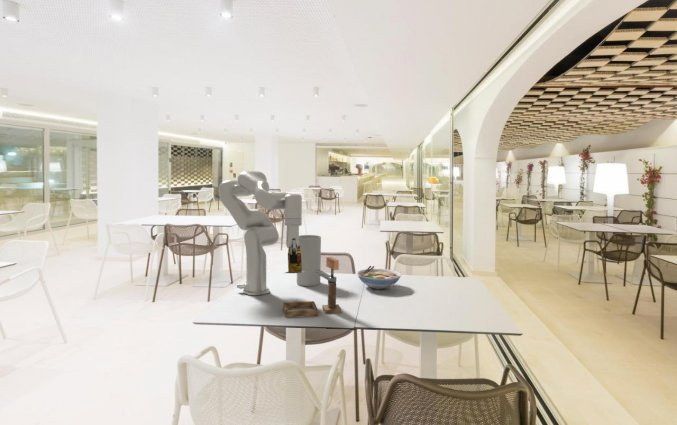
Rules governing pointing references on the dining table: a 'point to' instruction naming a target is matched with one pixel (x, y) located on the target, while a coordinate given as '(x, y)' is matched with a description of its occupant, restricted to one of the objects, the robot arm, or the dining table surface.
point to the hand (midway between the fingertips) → (292, 261)
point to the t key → (333, 265)
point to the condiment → (298, 266)
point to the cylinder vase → (309, 260)
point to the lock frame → (313, 305)
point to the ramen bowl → (378, 277)
